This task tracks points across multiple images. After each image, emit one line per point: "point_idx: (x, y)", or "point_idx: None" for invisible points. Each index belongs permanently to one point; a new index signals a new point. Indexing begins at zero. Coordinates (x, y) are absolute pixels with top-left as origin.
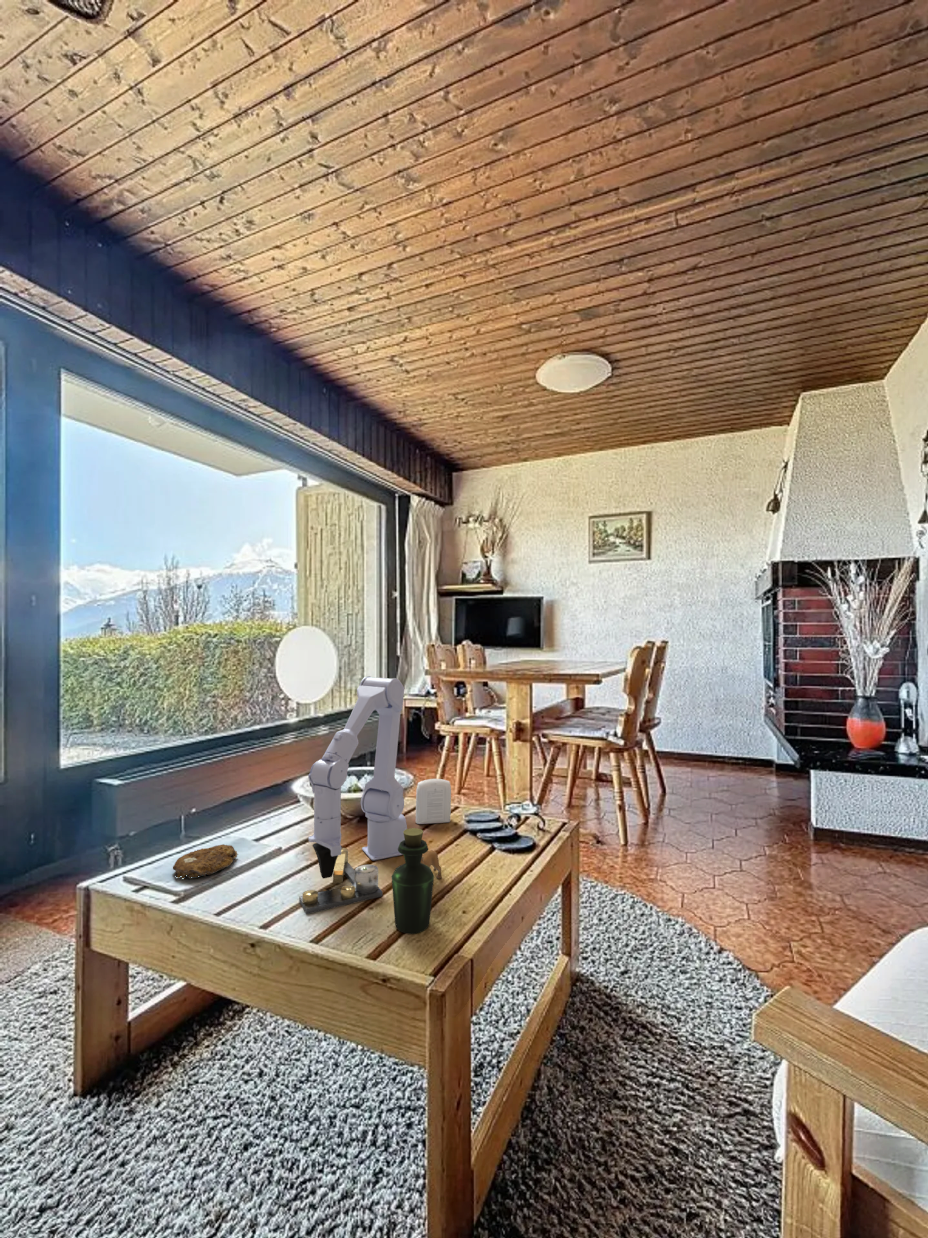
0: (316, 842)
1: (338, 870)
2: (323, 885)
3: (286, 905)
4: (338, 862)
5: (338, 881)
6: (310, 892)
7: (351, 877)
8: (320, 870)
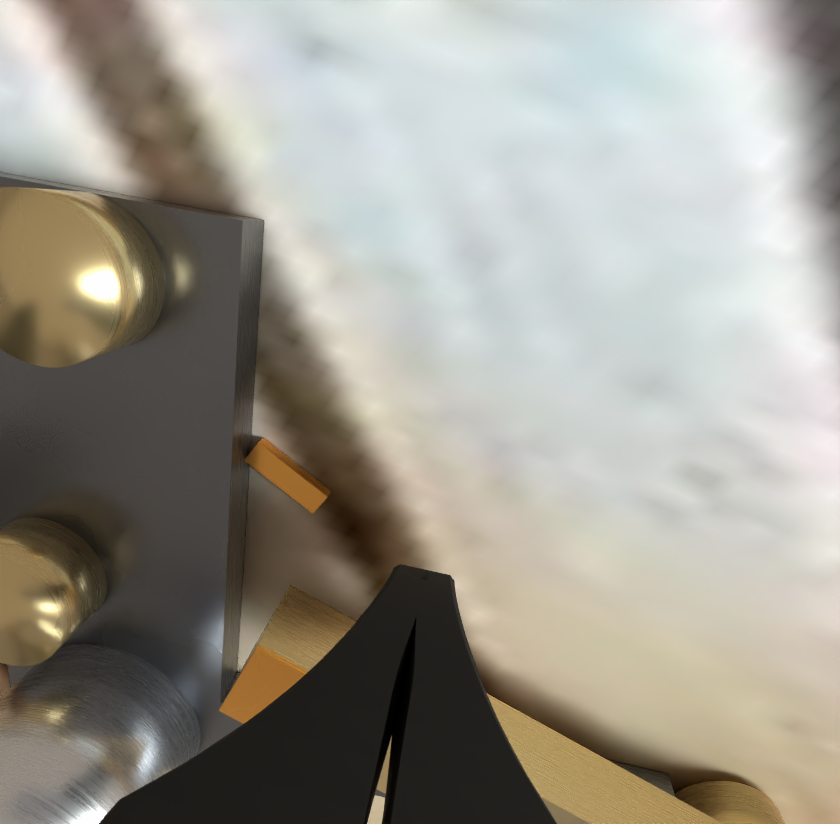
0: None
1: None
2: (442, 536)
3: (248, 63)
4: None
5: (262, 634)
6: (54, 297)
7: None
8: (423, 610)
